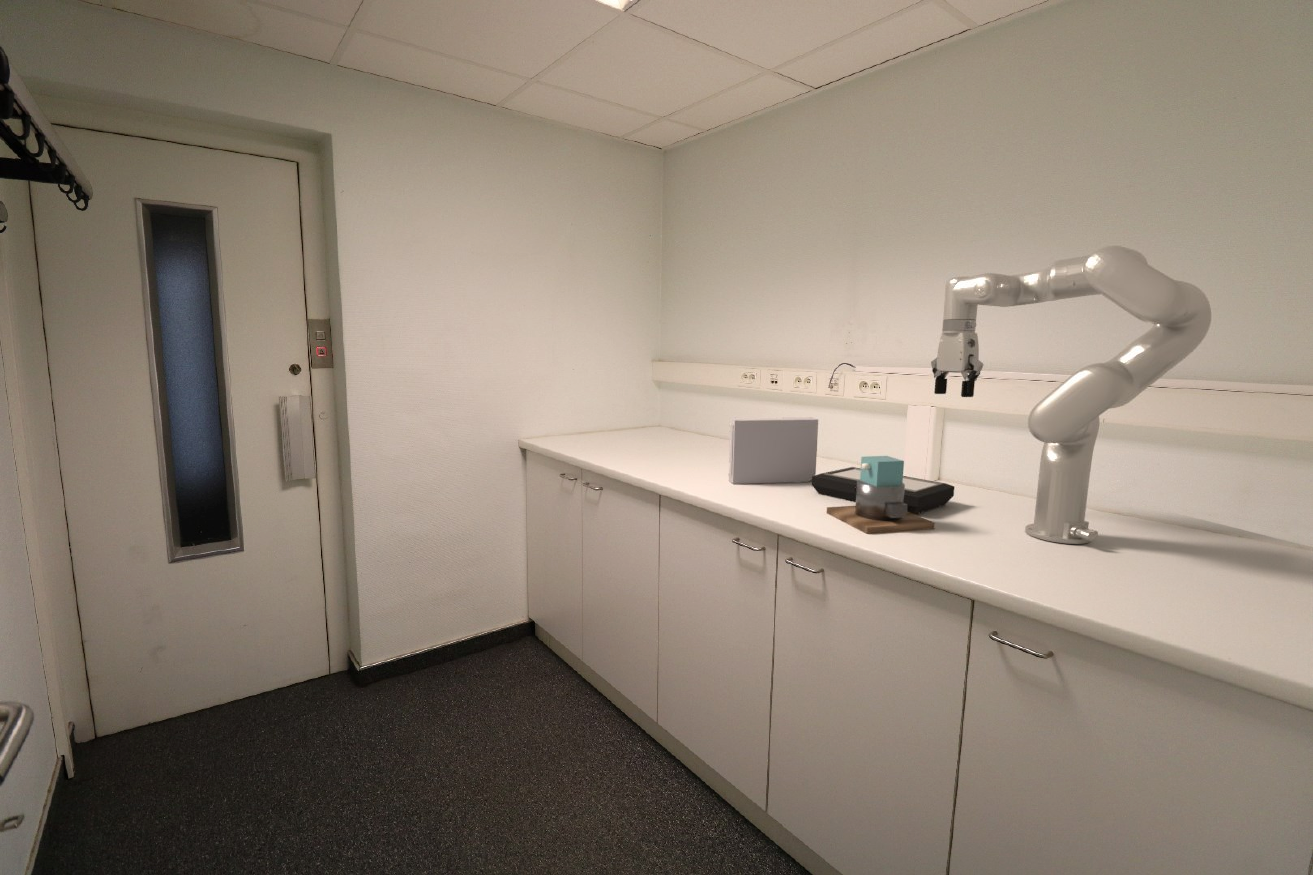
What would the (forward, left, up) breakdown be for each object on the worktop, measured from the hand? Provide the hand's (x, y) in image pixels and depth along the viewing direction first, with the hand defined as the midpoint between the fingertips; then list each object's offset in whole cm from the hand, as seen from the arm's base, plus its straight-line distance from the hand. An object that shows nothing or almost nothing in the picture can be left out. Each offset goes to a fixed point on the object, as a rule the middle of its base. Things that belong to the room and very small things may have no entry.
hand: (953, 395), depth 158 cm
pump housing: (-5, +23, -21) cm, 31 cm away
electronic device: (+14, +10, -31) cm, 35 cm away
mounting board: (-5, +23, -30) cm, 38 cm away
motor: (-6, +23, -29) cm, 37 cm away
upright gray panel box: (+42, +30, -31) cm, 60 cm away
